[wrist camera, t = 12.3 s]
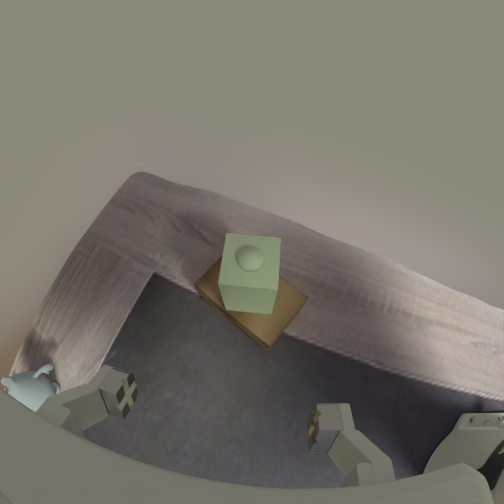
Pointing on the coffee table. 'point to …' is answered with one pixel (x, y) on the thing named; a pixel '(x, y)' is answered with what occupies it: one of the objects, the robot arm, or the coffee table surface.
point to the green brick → (250, 272)
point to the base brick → (254, 324)
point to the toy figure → (31, 387)
